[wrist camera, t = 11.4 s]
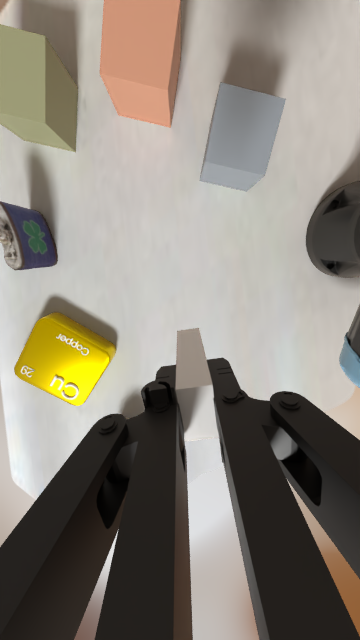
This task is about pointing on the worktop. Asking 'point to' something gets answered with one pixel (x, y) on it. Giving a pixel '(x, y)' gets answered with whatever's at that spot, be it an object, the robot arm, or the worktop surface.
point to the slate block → (240, 137)
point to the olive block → (36, 90)
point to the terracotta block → (141, 57)
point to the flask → (26, 238)
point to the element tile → (64, 358)
